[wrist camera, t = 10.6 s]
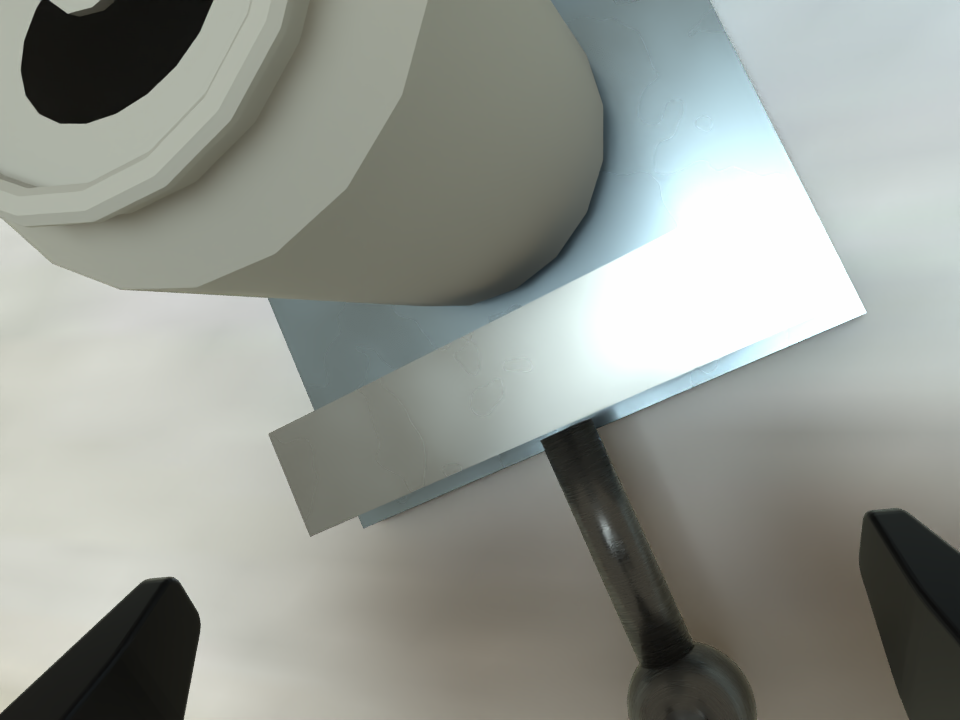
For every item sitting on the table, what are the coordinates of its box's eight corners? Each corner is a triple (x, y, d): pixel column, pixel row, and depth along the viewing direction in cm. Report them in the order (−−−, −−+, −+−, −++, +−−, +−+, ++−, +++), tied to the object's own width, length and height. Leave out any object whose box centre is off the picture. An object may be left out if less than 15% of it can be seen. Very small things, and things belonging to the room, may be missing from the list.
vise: (1018, 628, 16) (1189, 830, 10) (489, 777, 21) (360, 988, 14) (573, -260, 19) (471, -575, 12) (179, 37, 23) (-54, -78, 16)
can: (400, 360, 20) (-71, 406, 9) (281, 107, 21) (-287, -149, 10) (670, 210, 18) (503, 5, 6) (523, -69, 18) (142, -688, 7)
